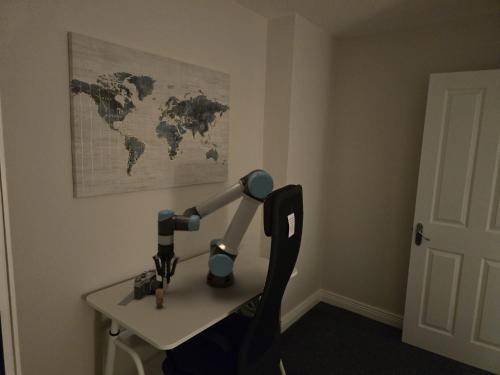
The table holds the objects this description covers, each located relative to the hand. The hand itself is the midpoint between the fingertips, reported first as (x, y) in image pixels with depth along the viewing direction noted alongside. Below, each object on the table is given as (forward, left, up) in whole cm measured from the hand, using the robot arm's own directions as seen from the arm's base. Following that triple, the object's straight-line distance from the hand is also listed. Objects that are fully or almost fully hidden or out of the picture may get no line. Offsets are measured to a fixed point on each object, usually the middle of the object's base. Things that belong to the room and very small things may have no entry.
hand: (165, 289), depth 160 cm
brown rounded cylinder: (-3, +13, -2) cm, 13 cm away
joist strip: (+14, +6, -2) cm, 16 cm away
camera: (+7, +1, -2) cm, 8 cm away
